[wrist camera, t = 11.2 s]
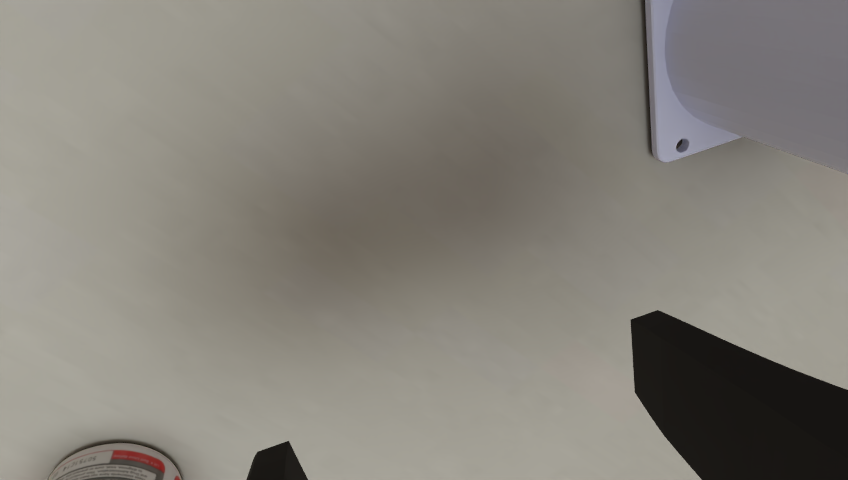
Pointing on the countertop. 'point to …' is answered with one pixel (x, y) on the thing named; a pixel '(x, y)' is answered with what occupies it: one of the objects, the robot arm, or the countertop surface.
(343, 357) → the countertop surface
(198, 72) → the countertop surface
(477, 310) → the countertop surface
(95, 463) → the pill bottle
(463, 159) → the countertop surface
